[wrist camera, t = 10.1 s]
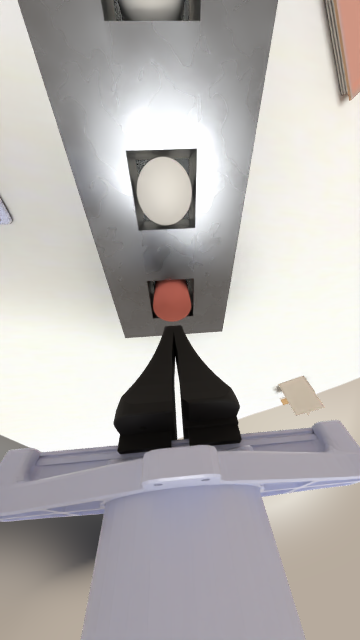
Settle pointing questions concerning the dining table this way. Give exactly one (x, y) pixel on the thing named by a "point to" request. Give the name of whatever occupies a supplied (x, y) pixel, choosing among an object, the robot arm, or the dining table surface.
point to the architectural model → (300, 396)
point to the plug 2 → (164, 191)
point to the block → (157, 138)
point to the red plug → (171, 299)
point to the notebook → (346, 42)
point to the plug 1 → (152, 10)
